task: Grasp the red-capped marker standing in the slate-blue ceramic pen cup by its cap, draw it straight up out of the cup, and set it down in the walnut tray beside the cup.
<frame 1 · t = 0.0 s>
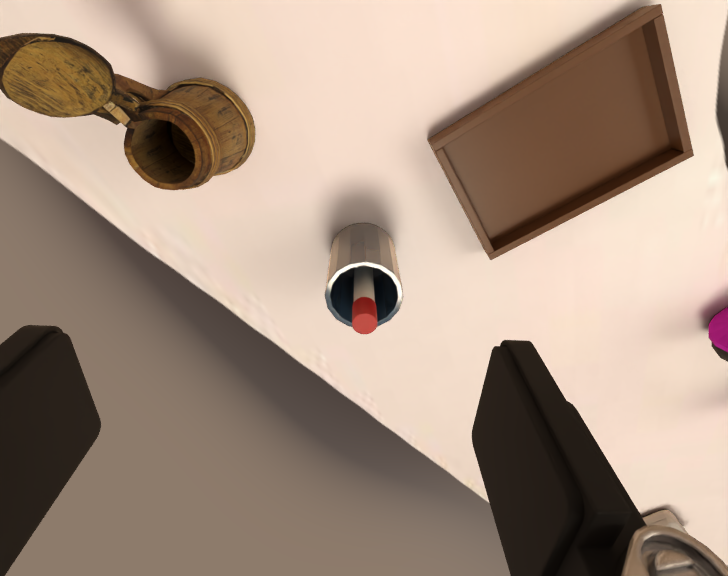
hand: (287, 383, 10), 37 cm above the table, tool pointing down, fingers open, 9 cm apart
pen cup: (362, 252, 49), on the table, touching marker
handheld gaming device: (634, 530, 78), on the table
marker: (362, 254, 48), point 1 cm above the table, touching pen cup
tray: (553, 144, 43), on the table
wooden mug: (193, 108, 41), on the table
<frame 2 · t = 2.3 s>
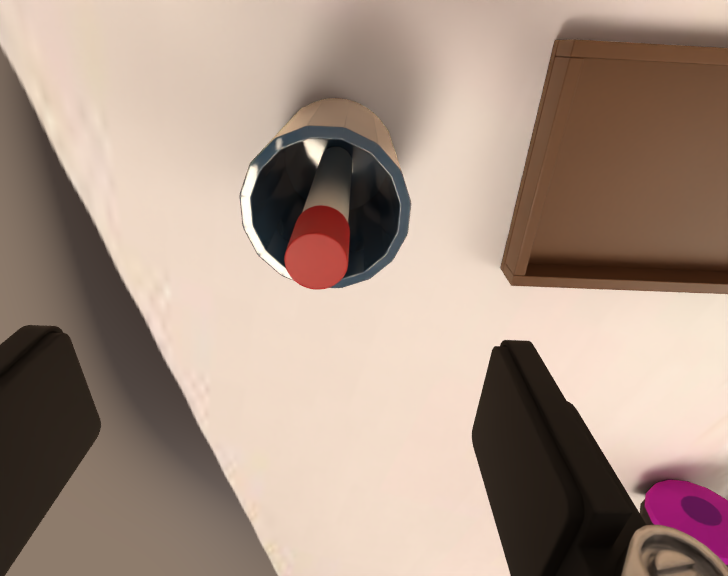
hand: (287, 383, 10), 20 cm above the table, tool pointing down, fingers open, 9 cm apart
pen cup: (336, 160, 27), on the table, touching marker
headphones: (643, 527, 48), on the table
marker: (336, 162, 27), point 1 cm above the table, touching pen cup
tray: (684, 176, 28), on the table
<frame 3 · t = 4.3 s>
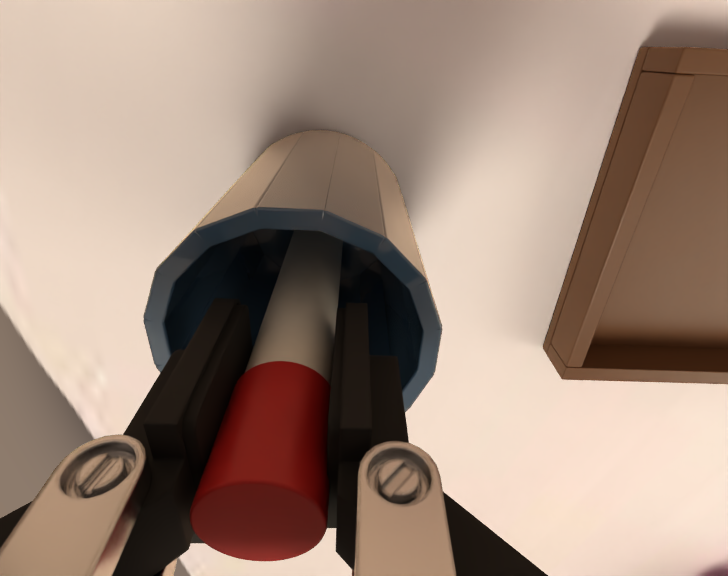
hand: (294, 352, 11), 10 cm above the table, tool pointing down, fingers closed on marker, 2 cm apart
pen cup: (323, 214, 19), on the table, touching marker
marker: (322, 218, 19), point 1 cm above the table, touching gripper, pen cup
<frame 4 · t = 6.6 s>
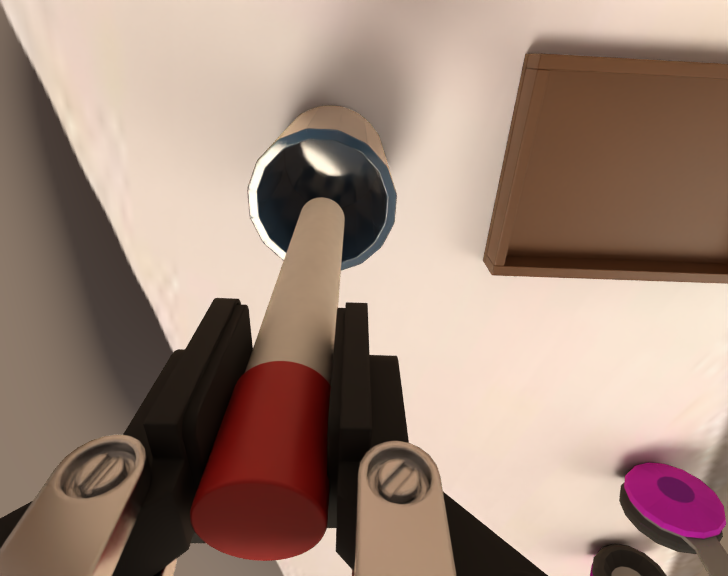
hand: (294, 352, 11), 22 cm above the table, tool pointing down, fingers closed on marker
pen cup: (332, 161, 30), on the table
headphones: (625, 510, 51), on the table
marker: (322, 218, 19), point 12 cm above the table, touching gripper
tray: (646, 175, 31), on the table
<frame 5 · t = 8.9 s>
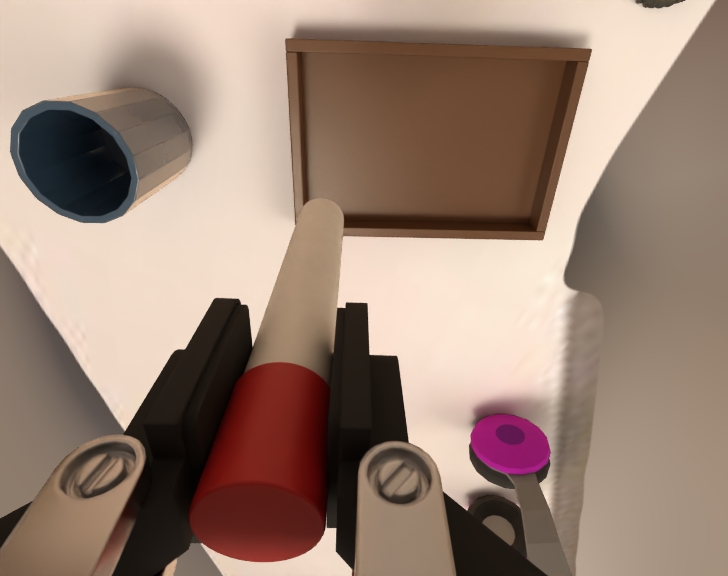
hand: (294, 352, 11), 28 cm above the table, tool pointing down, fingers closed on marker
pen cup: (146, 137, 35), on the table
headphones: (492, 462, 55), on the table
marker: (321, 219, 19), point 18 cm above the table, touching gripper
tray: (424, 144, 35), on the table
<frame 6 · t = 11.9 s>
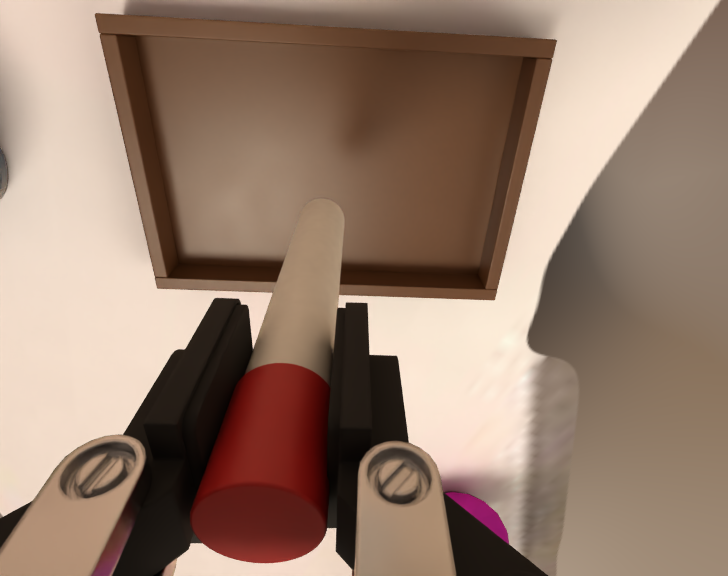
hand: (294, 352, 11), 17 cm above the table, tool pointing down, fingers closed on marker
headphones: (446, 540, 46), on the table
marker: (322, 219, 19), point 8 cm above the table, touching gripper
tray: (331, 169, 25), on the table
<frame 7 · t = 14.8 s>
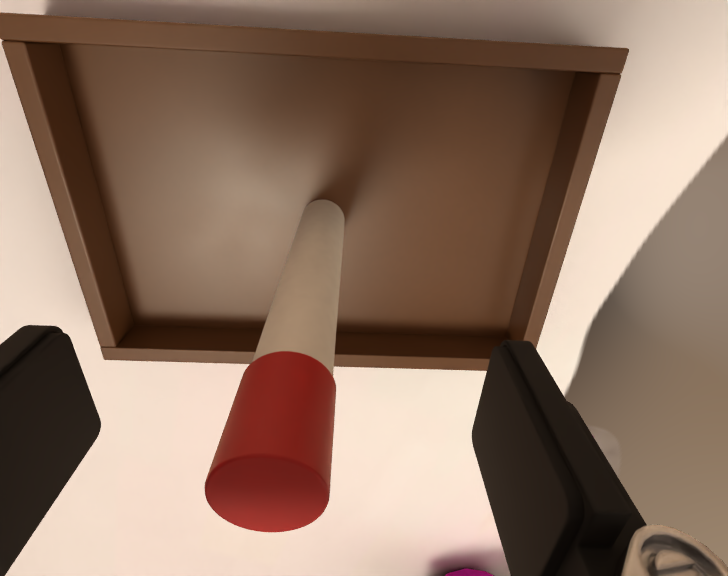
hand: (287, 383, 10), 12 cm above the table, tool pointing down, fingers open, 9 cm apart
marker: (323, 219, 20), point 1 cm above the table, touching tray
tray: (324, 211, 20), on the table
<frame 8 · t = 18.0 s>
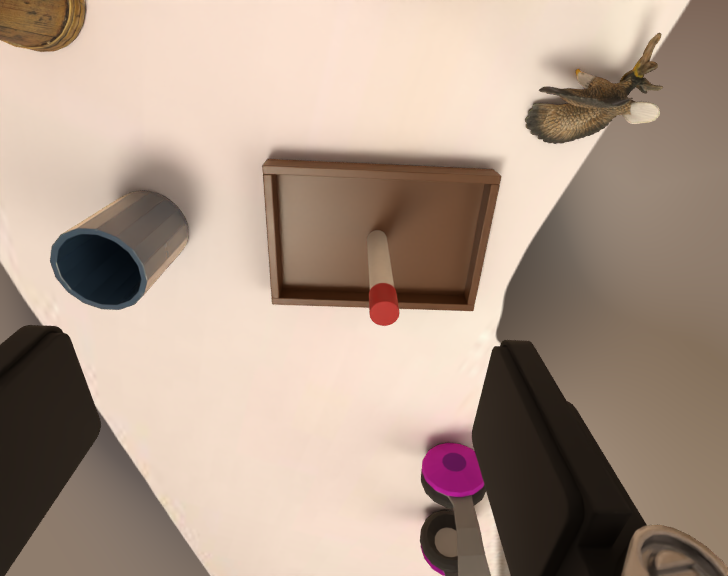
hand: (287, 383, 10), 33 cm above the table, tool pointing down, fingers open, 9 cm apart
pen cup: (151, 226, 43), on the table
eagle figurine: (576, 95, 37), on the table
headphones: (445, 482, 64), on the table
marker: (376, 239, 43), point 1 cm above the table, touching tray
tray: (376, 235, 44), on the table
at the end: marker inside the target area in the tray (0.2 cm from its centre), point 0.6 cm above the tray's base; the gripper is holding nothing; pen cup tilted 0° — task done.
